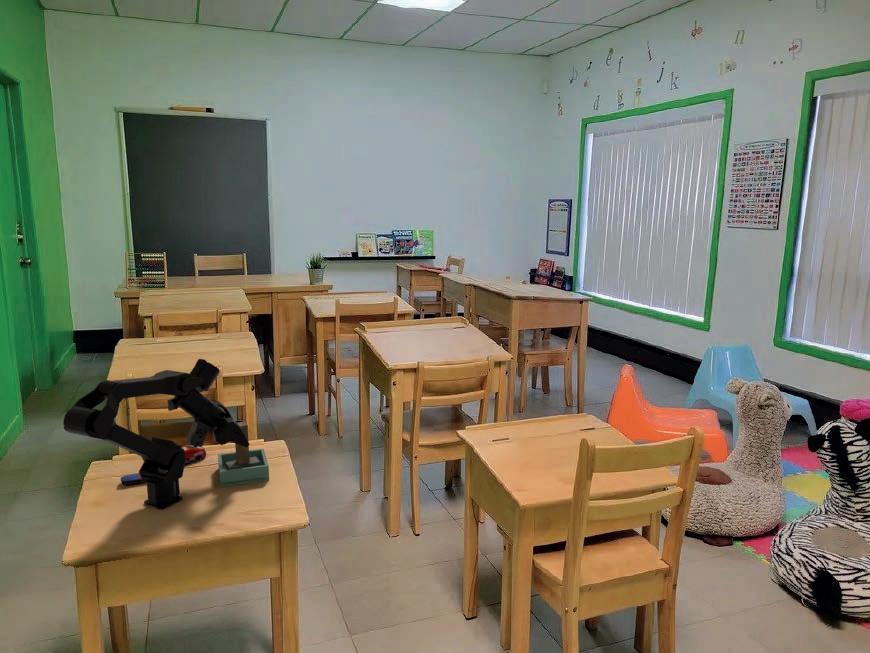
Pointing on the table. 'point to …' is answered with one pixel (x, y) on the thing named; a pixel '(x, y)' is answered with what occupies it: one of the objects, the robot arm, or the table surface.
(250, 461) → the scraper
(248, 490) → the table surface
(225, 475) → the box
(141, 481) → the eraser
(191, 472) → the table surface
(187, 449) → the race car
